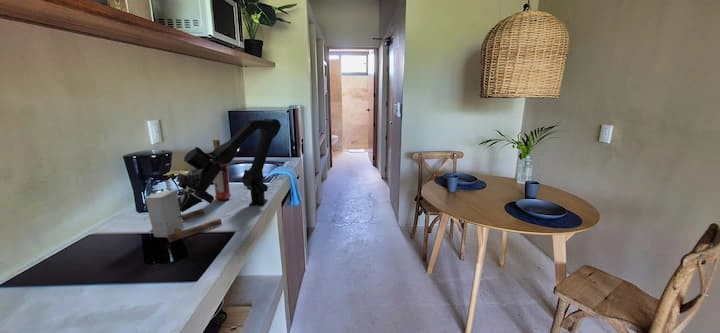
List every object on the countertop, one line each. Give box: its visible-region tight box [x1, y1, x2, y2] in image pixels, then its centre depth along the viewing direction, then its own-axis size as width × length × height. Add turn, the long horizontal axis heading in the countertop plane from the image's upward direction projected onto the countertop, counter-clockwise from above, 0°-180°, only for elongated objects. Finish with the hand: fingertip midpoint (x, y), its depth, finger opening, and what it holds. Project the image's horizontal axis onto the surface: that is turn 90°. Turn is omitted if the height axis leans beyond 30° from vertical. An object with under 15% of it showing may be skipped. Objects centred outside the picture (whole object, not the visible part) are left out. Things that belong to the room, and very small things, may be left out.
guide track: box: [167, 208, 222, 243], centre depth 115 cm, size 18×16×4 cm
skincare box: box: [144, 190, 185, 239], centre depth 109 cm, size 8×6×15 cm
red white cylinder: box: [210, 138, 232, 201], centre depth 139 cm, size 7×7×28 cm
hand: (180, 211), depth 113 cm, fingers closed on skincare box
